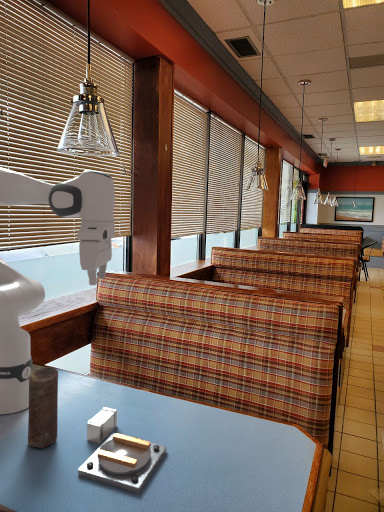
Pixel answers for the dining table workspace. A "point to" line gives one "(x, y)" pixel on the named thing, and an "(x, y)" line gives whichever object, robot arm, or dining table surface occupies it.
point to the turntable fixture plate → (123, 462)
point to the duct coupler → (101, 425)
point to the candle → (43, 407)
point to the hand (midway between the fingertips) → (97, 281)
